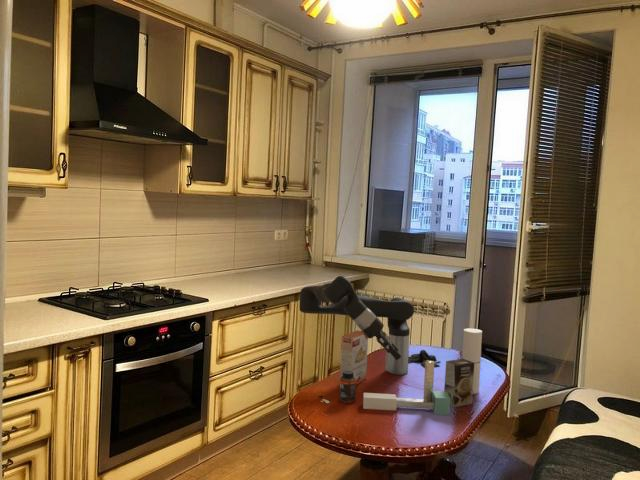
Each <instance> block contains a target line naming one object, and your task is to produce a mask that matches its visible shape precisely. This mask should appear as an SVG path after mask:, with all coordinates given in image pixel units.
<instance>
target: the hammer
mask: <svg viewBox="0 0 640 480" xmlns="http://www.w3.org/2000/svg"><path fill="white" fill-rule="evenodd" d="M434 363H435V362H434V361H429V360H428V361H425V368H424V378H423V379H424V381H423V383H424V384H423V398H408V397H407V398H406V397H396V398H397V405H396V408H404V409H405V408H406V409H422V410H423V409H424V410H433V409H434V403H435V402H434V400H432V398H433V391H434V377H435V376H434V374H435V367H434Z"/></svg>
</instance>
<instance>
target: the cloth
mask: <svg viewBox="0 0 640 480" xmlns="http://www.w3.org/2000/svg"><path fill="white" fill-rule="evenodd" d="M428 360H429V361H434V368H439V367H440V368H441V365H440V363H442V362H441V360H440V361H439V360H438V361H437V357H436V356H435V355H433V354H428V352H427V351H426V350H425V349H421V350H420V352H419V353H413V354H411V355H410V356H409V358H408V365H409V364H414V363H416V364H419V363H421V366H422V367H423V368H424V369H425V361H428Z"/></svg>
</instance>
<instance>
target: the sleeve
mask: <svg viewBox="0 0 640 480" xmlns="http://www.w3.org/2000/svg"><path fill="white" fill-rule="evenodd" d="M397 398H398V397H397V395H396V394H395V393H393V394H391V393H375V392H363V398H362V399H363V401H362V408H363V409H364V410H365V409H366V410H381V411H397V407H396V405H397Z"/></svg>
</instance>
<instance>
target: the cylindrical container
mask: <svg viewBox="0 0 640 480" xmlns="http://www.w3.org/2000/svg"><path fill="white" fill-rule="evenodd" d="M482 338H483V330H481V329H478V328H471V327H470V328H469V327H467V328H463V341H462V342H463V343H462V358H461V359H465V360H468V361H471V362H473V363H474V378H473V395H476V394H479V392H480V380H481V379H480V376H481V360H482V359H481V358H482V344H483V343H482V340H483V339H482Z"/></svg>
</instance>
